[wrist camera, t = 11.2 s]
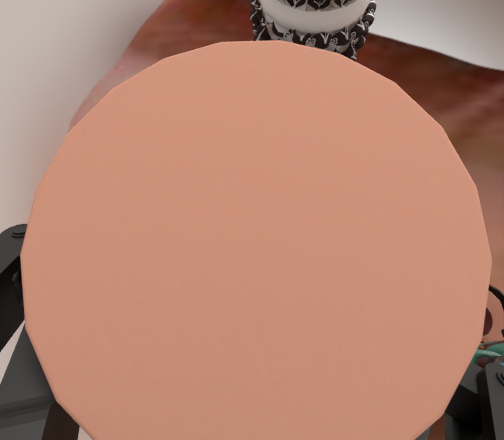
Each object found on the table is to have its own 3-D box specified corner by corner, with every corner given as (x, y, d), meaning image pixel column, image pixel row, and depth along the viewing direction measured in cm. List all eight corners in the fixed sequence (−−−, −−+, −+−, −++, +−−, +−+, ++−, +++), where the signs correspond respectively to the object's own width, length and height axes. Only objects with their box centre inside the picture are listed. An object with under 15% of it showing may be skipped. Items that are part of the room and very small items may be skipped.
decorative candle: (249, 162, 37) (215, -85, 13) (268, 104, 40) (267, -196, 16) (317, 178, 36) (414, -60, 12) (332, 117, 38) (439, -184, 14)
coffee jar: (290, 373, 22) (386, 670, 4) (174, 305, 23) (-85, 323, 6) (345, 251, 24) (552, 126, 7) (236, 197, 26) (174, -10, 8)
